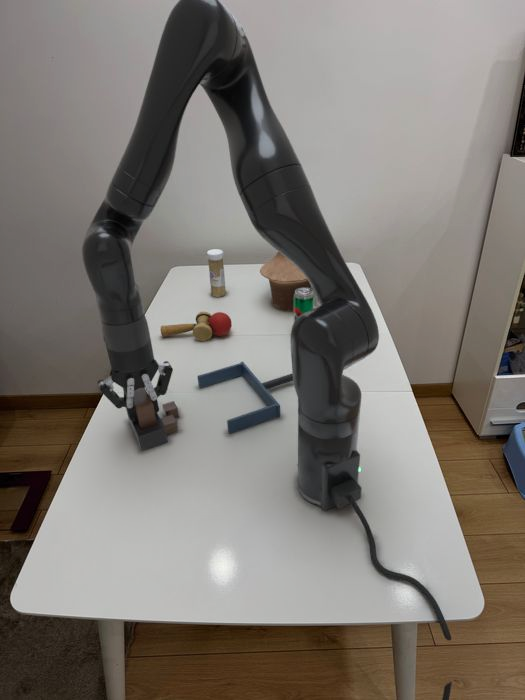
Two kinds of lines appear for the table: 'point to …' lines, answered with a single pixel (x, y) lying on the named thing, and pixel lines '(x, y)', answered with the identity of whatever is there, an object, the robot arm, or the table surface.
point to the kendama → (202, 326)
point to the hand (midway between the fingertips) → (144, 416)
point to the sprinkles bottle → (216, 272)
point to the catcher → (259, 387)
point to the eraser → (147, 422)
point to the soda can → (302, 301)
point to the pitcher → (283, 280)
